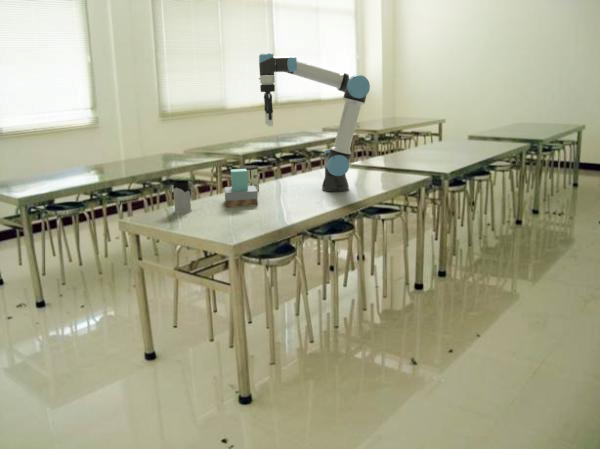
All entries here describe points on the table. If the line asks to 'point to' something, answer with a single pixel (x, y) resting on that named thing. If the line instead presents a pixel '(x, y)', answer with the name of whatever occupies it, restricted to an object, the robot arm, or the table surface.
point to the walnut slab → (241, 202)
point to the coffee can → (252, 175)
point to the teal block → (239, 179)
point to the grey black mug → (182, 196)
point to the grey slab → (241, 194)
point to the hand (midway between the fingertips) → (269, 125)
